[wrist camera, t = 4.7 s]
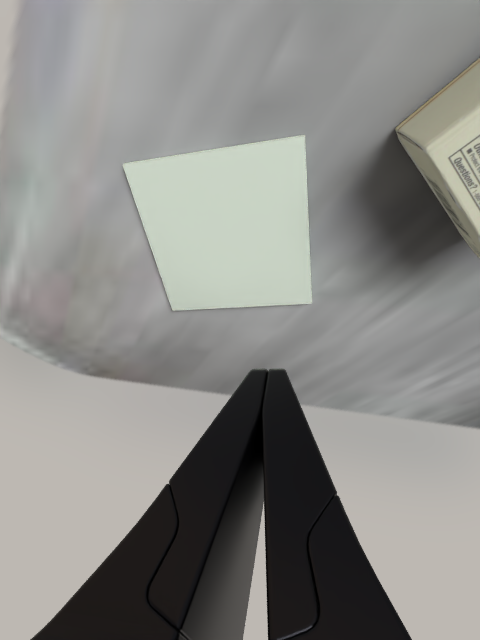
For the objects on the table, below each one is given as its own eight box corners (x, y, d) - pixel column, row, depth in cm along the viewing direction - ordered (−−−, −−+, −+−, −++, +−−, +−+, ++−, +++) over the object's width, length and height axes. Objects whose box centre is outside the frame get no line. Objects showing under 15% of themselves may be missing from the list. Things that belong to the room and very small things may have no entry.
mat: (304, 134, 13) (304, 136, 13) (312, 300, 18) (312, 303, 18) (125, 163, 15) (122, 164, 15) (174, 307, 20) (172, 310, 19)
